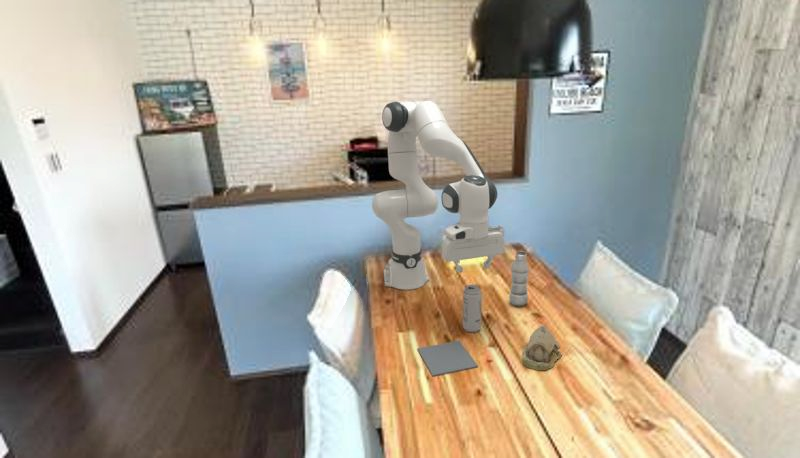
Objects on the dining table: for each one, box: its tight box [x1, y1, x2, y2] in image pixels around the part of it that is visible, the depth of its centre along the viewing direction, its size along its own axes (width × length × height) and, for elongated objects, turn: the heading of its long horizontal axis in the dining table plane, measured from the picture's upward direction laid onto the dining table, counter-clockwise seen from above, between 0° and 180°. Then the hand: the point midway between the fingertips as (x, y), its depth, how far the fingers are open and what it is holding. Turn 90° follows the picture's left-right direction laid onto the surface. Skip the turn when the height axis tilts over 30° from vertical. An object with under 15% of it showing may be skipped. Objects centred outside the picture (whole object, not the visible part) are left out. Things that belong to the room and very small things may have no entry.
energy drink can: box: [462, 284, 483, 333], centre depth 151 cm, size 6×6×15 cm
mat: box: [416, 340, 479, 377], centre depth 138 cm, size 14×14×1 cm
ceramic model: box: [521, 324, 563, 371], centre depth 136 cm, size 14×11×10 cm
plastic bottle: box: [508, 251, 530, 307], centre depth 166 cm, size 6×7×20 cm
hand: (473, 269), depth 147 cm, fingers open, 8 cm apart
